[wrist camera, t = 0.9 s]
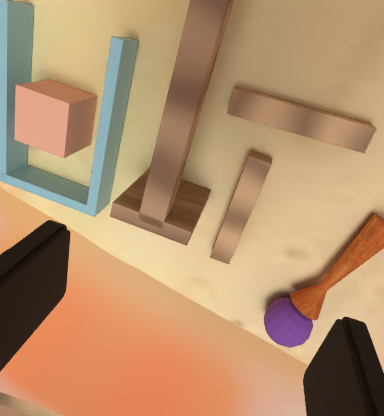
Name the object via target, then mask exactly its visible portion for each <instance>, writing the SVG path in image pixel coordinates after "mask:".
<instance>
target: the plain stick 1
mask: <svg viewBox="0 0 384 416" xmlns="http://www.w3.org/2000/svg"><path fill="white" fill-rule="evenodd" d="M271 164H272V158H271V157H268V156H265V155H262V154H259V153H257V152H254V151H250V153H249V156H248V158H247V161H246V164H245V166H244V169H243V171H242V174H241V177H240V179H239V182H238V184H237V187H236V189H235V192H234V195H233V197H232V200H231V202H230V205H229V208H228V210H227V213H226V215H225V218H224V221H223V223H222V226H221V228H220V231H219V234H218V236H217V239H216V241H215V244H214V247H213V250H212V253H211V256H210V258H213V259H216V260H218V261H221V262H224V263H226V264H229V263H230V260H231V258H232V256H233V253H234V251H235V249H236V246H237V244H238V242H239V239H240V237H241V235H242V232H243V230H244V228H245V225H246V223H247V221H248V218H249V216H250V214H251V211H252V209H253V206H254V204H255V202H256V199H257V197H258V195H259V192H260V190H261V188H262V185H263V183H264V181H265V178H266V176H267V174H268V171H269V169H270V167H271Z"/></svg>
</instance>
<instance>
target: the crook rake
mask: <svg viewBox="0 0 384 416" xmlns="http://www.w3.org/2000/svg"><path fill="white" fill-rule="evenodd" d="M232 3H233V0H190V4H189V8H188V12H187V16H186V20H185V25H184V29H183V33H182V37H181V41H180V45H179V50H178V54H177V58H176V62H175V66H174V70H173V75H172V79H171V83H170V87H169V91H168V95H167V100H166V104H165V108H164V112H163V116H162V121H161V125H160V129H159V133H158V137H157V141H156V146H155V150H154V154H153V158H152V162H151V166H150V168H149V169H148V170H147V171H146V172H145V173H144V174H143V175H142V176H140V177H139V178H138V179H137V180H136V181H135V182H134V183H133V184H132V185H131V186H130V187H129V188H128V189H127V190H126V191H124V192H123V193H122V194H121V195H120V196H119V197H118V198H117V199H116V200H115V201H114V202H113V204H112V209H111V214H110V217H113V218H116V219H118V220H121V221H123V222H126V223H129V224H131V225H134V226H137V227H139V228H142V229H144V230H147V231H150V232H152V233H155V234H158V235H160V236H163V237H165V238H168V239H171V240H173V241H176V242H179V243H181V244H184V245H186V246H187V244H188V242H189V240H190V237H191V235H192V233H193V231H194V229H195V227H196V224H197V222H198V220H199V218H200V216H201V213H202V211H203V209H204V207H205V205H206V202H207V200H208V197H209V194H210V191H211V190H210V189H207V188H204V187H201V186H199V185H196V184H193V183H191V182H188V181H185V180H182V179H181V176H182V173H183V169H184V166H185V163H186V159H187V156H188V152H189V149H190V146H191V142H192V139H193V135H194V132H195V129H196V125H197V122H198V118H199V115H200V112H201V108H202V105H203V101H204V98H205V95H206V91H207V88H208V84H209V81H210V78H211V74H212V71H213V67H214V64H215V61H216V57H217V54H218V50H219V47H220V44H221V40H222V37H223V33H224V30H225V27H226V23H227V20H228V16H229V13H230V10H231V6H232Z"/></svg>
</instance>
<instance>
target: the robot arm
mask: <svg viewBox="0 0 384 416" xmlns="http://www.w3.org/2000/svg"><path fill="white" fill-rule="evenodd" d="M69 244H70V231H69V230H67V228H66V225H64V224H61V223H58V222H55V221H52V220H48V221H46V222H45V223H43V224H42V225H41V226H39V227H38V228H37V229H35V230H34V231H33V232H31V233H30V234H29V235H27V236H26V237H25V238H23V239H22V240H21V241H19V242H18V243H17V244H15V245H14V246H13V247H11V248H10V249H8V250H6V251H5V252H3V253H2V254H1V255H0V371H1V370H2V369H3V368H4V367H5V365H6V364H7V363H8V362H9V361H10V360H11V358H12V357H13V356H14V355H15V354H16V352H17V351H18V350H19V349H20V348H21V347H22V345H23V344H24V343H25V342H26V341H27V339H28V338H29V337H30V336H31V335H32V333H33V332H34V331H35V330H36V329H37V328H38V326H39V325H40V324H41V323H42V322H43V320H44V319H45V318H46V317H47V316H48V315H49V313H50V312H51V311H52V310H53V309H54V308H55V306H56V305H57V304H58V303H59V301H60V300H61V299H62V298H63V296H64V294H65V291H66V283H67V271H68V258H69ZM303 385H304V394H305V402H306V413H307V416H384V373H383V370H382V367H381V365H380V362H379V359H378V356H377V354H376V351H375V348H374V345H373V343H372V340H371V337H370V334H369V332H368V329H367V326H366V324H365V323H364V322H361V321H358V320H355V319H352V318H349V317H344V318H343V319H342V320H341V319H337V320H336V321H335V323H334V325H333V326H332V328H331V330H330V331H329V333H328V335H327V336H326V338H325V339H324V341H323V343H322V344H321V346H320V348H319V349H318V351H317V353H316V354H315V356H314V358H313V359H312V361H311V363H310V364H309V366H308V368H307V369H306V371H305V374H304V379H303ZM0 416H64V415H61V414H59V413H56V412H53V411H51V410H48V409H45V408H43V407H40V406H37V405H35V404H32V403H29V402H26V401H24V400H21V399H18V398H16V397H13V396H10V395H7V394H4V393H1V392H0Z"/></svg>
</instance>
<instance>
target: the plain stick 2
mask: <svg viewBox="0 0 384 416" xmlns="http://www.w3.org/2000/svg"><path fill="white" fill-rule="evenodd" d="M227 114H230V115H233V116H237V117H240V118H244V119H247V120H251V121H254V122H258V123H261V124H264V125H268V126H271V127H275V128H278V129H282V130H285V131H289V132H292V133H296V134H299V135H303V136H306V137H310V138H313V139H317V140H320V141H324V142H327V143H331V144H334V145H337V146H341V147H344V148H348V149H351V150H355V151H358V152H362V153H365V151H366V149H367V147H368V145H369V143H370V141H371V139H372V137H373V135H374V133H375V131H376V129H377V128H375V127H374V126H373V125H372V124H369V123H366V122H362V121H359V120H355V119H351V118H348V117H344V116H341V115H337V114H333V113H330V112H326V111H323V110H319V109H315V108H312V107H308V106H305V105H301V104H298V103H294V102H290V101H287V100H283V99H280V98H276V97H272V96H269V95H265V94H262V93H258V92H254V91H251V90H247V89H244V88H240V87H237V86H236V87H235V88H234V91H233V94H232V98H231V102H230V105H229V109H228V112H227Z"/></svg>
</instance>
